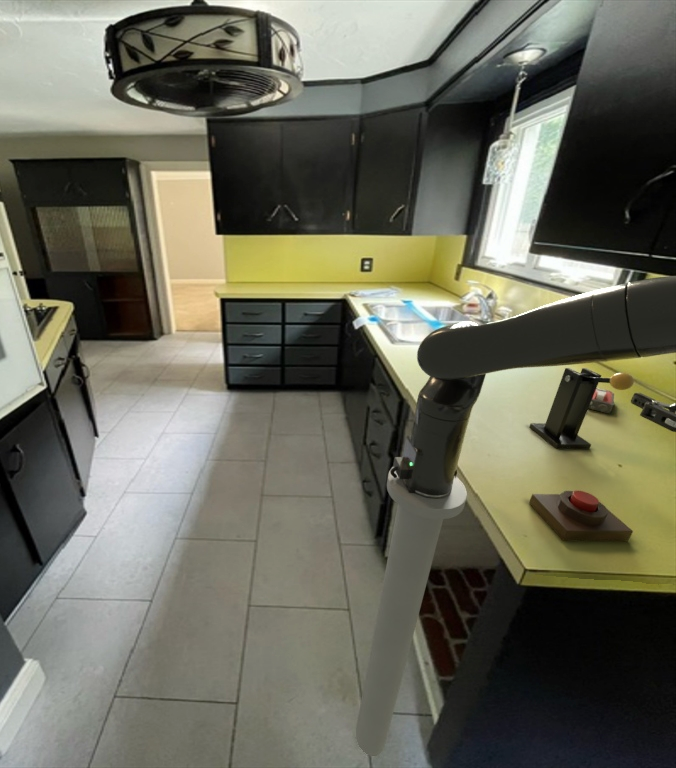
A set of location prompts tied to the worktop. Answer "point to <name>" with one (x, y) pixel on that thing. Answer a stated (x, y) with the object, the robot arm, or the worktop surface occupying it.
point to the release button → (584, 501)
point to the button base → (579, 519)
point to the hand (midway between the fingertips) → (656, 397)
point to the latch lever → (612, 380)
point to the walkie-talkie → (602, 401)
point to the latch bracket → (568, 411)
